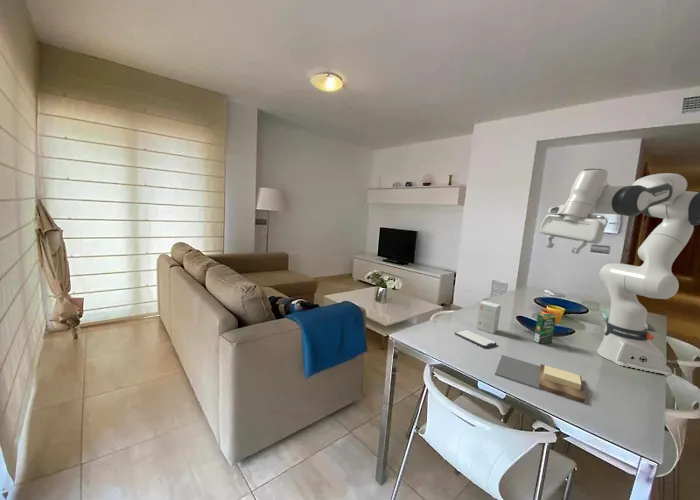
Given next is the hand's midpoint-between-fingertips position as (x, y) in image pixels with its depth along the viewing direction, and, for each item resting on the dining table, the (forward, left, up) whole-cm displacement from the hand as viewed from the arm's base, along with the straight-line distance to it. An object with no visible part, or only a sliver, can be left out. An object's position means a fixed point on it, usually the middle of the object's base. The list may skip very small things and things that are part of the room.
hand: (561, 250), depth 109 cm
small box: (+23, -24, -44) cm, 55 cm away
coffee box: (0, -27, -44) cm, 52 cm away
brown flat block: (-6, +11, -44) cm, 46 cm away
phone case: (+25, -7, -45) cm, 52 cm away
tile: (-6, +11, -43) cm, 44 cm away
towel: (-38, -101, -45) cm, 117 cm away
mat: (+6, +11, -44) cm, 46 cm away
